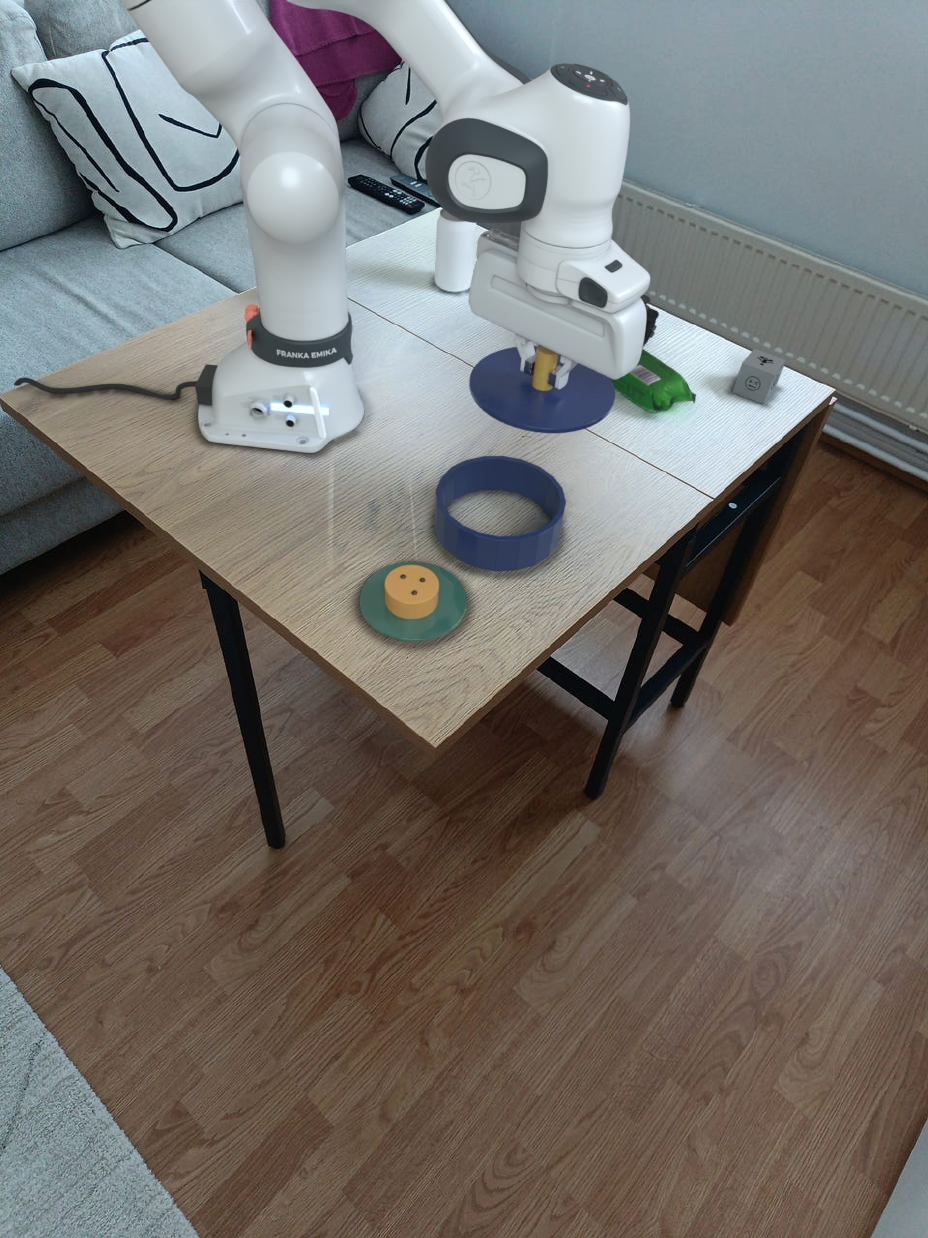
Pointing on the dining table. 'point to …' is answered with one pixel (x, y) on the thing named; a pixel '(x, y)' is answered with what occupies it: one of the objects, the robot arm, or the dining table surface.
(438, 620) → the plate
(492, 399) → the tin lid
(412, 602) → the cookie
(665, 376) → the snack package
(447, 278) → the can
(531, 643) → the dining table surface
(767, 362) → the dice cube
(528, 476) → the cookie tin
